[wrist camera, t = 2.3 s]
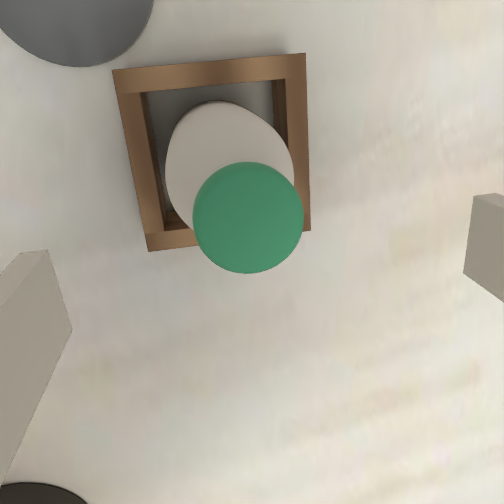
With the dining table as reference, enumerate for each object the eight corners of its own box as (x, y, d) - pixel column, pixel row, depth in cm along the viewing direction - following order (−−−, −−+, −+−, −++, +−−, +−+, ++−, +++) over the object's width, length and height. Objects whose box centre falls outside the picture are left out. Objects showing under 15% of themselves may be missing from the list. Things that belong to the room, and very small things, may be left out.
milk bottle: (151, 155, 34) (111, 243, 16) (209, 78, 33) (237, 77, 14) (224, 210, 37) (261, 338, 19) (280, 141, 35) (381, 208, 17)
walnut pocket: (152, 230, 37) (148, 252, 32) (122, 71, 31) (111, 69, 27) (295, 212, 38) (310, 230, 33) (289, 56, 33) (305, 52, 28)
